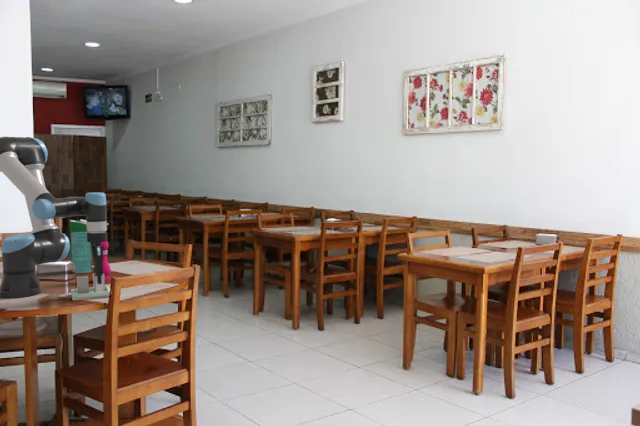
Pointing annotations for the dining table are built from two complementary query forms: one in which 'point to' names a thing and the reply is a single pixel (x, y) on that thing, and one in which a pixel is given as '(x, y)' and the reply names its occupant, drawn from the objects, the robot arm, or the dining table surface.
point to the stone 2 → (95, 283)
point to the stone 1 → (82, 284)
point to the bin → (90, 294)
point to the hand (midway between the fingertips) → (99, 290)
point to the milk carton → (80, 247)
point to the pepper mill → (105, 262)
